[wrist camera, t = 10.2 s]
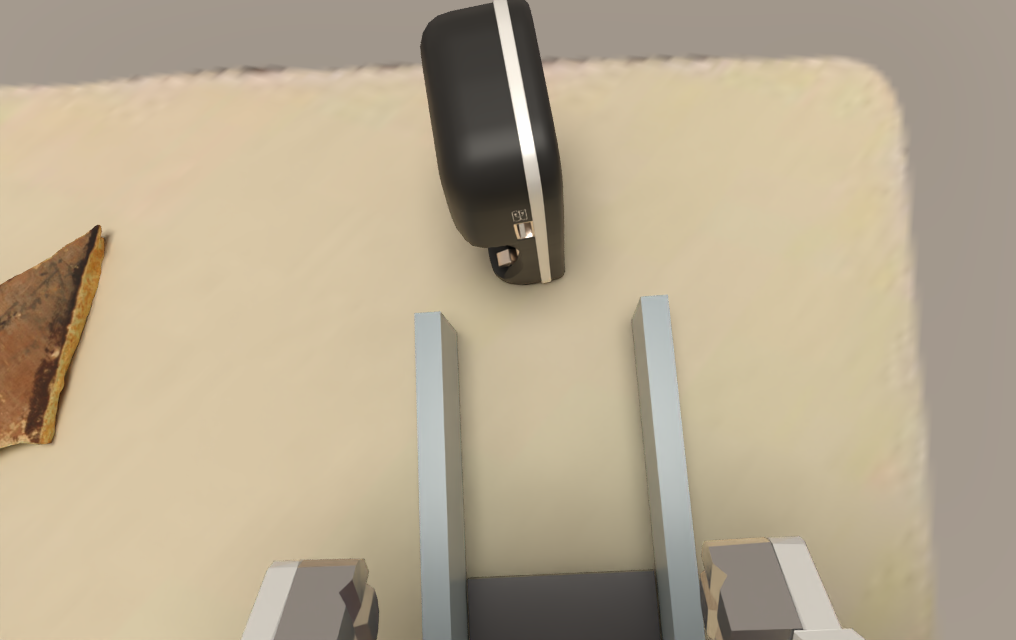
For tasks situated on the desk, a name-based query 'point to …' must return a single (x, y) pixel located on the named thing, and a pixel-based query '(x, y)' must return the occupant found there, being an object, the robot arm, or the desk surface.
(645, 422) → the channel
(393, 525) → the desk surface
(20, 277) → the shard
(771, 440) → the desk surface
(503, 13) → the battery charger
